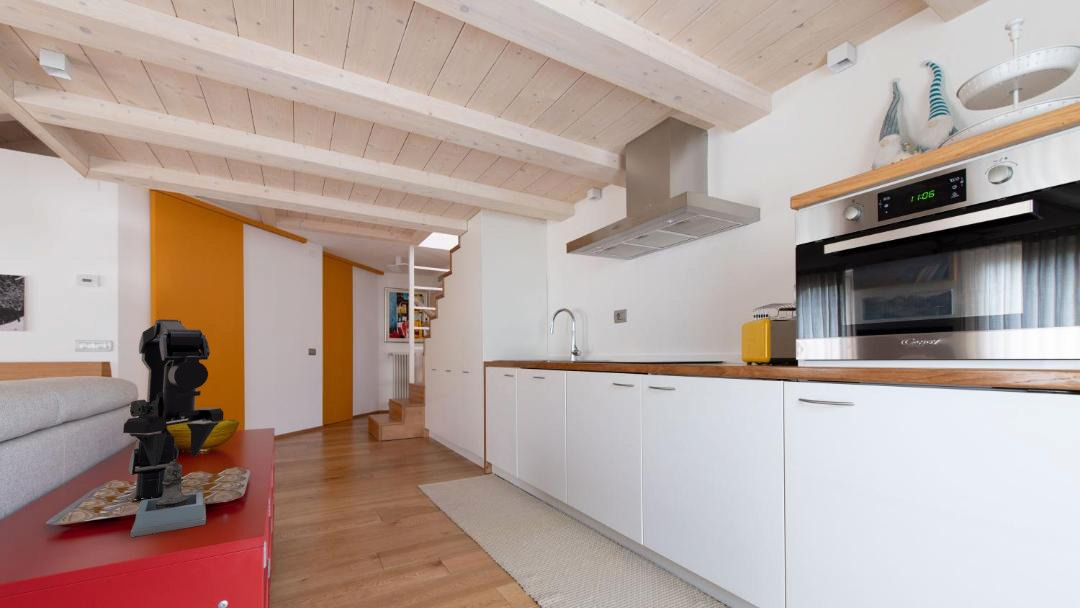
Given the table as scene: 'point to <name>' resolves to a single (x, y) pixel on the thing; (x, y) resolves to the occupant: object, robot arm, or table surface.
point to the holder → (169, 516)
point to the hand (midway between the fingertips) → (174, 460)
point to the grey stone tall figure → (172, 488)
